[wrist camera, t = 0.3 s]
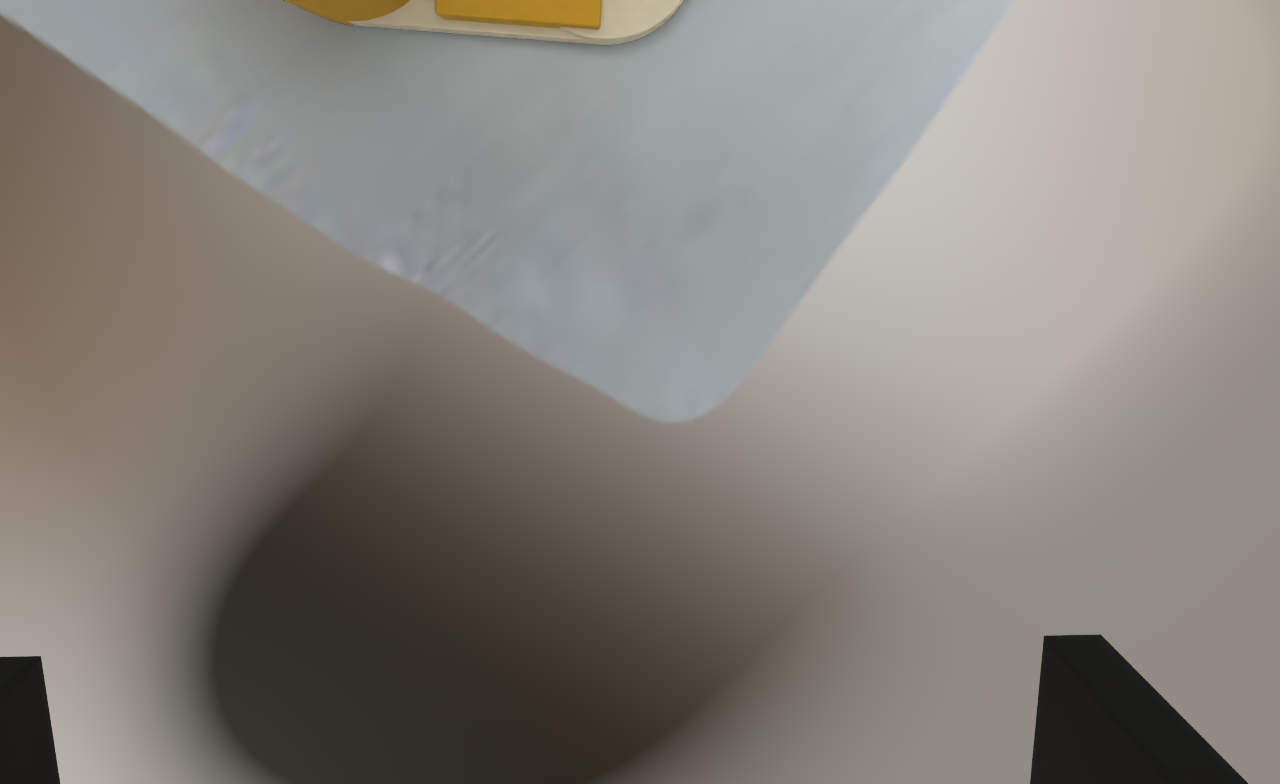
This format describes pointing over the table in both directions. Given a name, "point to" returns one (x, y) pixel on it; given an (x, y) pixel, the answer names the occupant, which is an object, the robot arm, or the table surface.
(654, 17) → the rain boot
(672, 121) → the table surface
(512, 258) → the table surface
